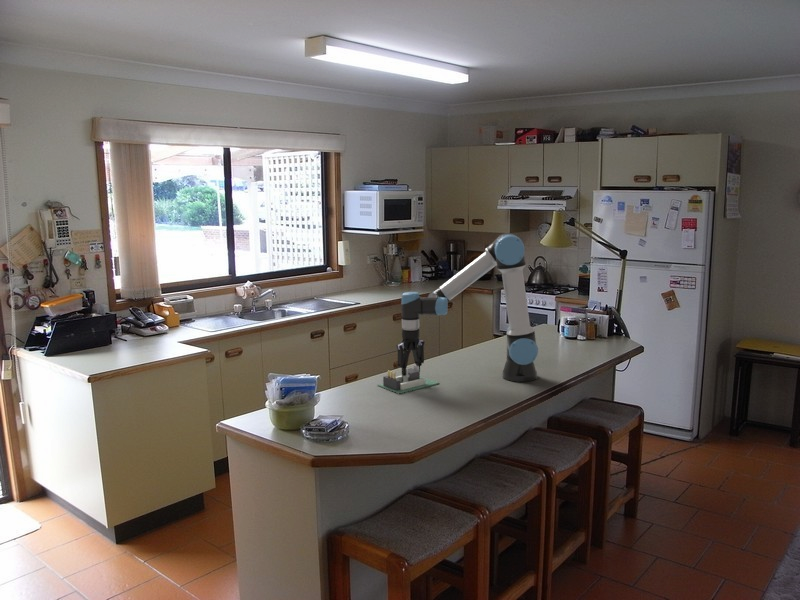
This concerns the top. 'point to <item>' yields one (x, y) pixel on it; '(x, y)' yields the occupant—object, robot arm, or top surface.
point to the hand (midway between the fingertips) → (411, 381)
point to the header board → (427, 383)
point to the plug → (412, 374)
